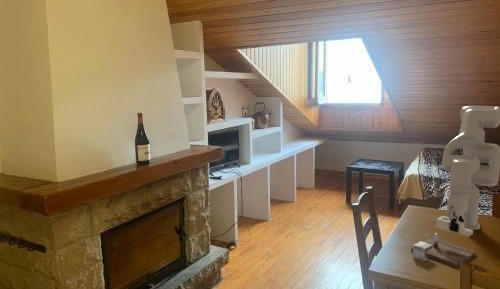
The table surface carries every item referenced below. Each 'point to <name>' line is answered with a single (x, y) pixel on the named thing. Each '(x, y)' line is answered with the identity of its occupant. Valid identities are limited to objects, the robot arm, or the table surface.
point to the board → (448, 253)
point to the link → (445, 225)
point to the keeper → (421, 250)
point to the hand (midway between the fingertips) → (456, 229)
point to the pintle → (436, 240)
